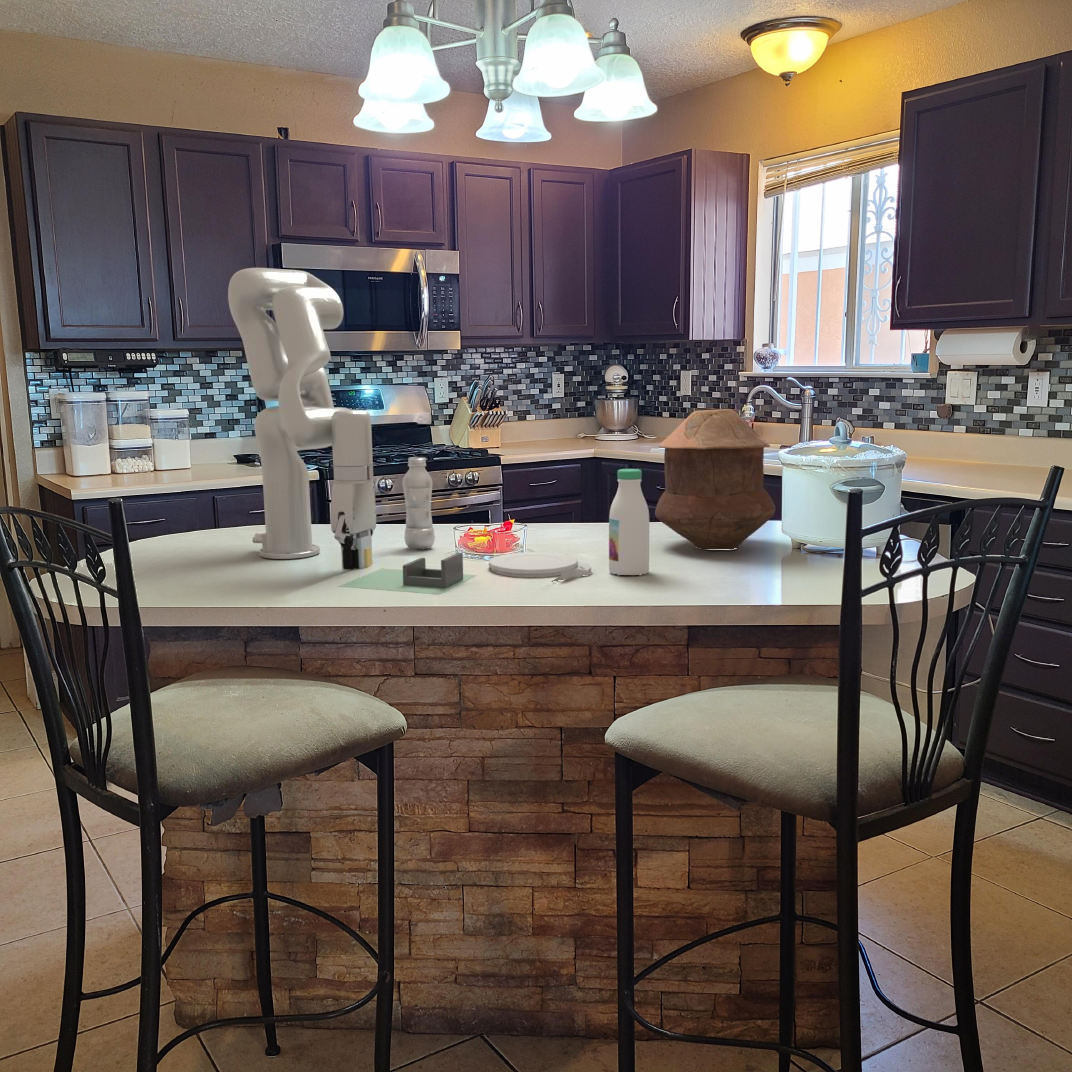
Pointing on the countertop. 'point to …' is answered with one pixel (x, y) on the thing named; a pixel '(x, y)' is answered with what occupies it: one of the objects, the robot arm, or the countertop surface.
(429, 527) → the plastic bottle
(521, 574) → the lid
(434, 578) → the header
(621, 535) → the milk bottle
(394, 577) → the board
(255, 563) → the countertop surface
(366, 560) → the plug
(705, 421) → the pottery vessel
